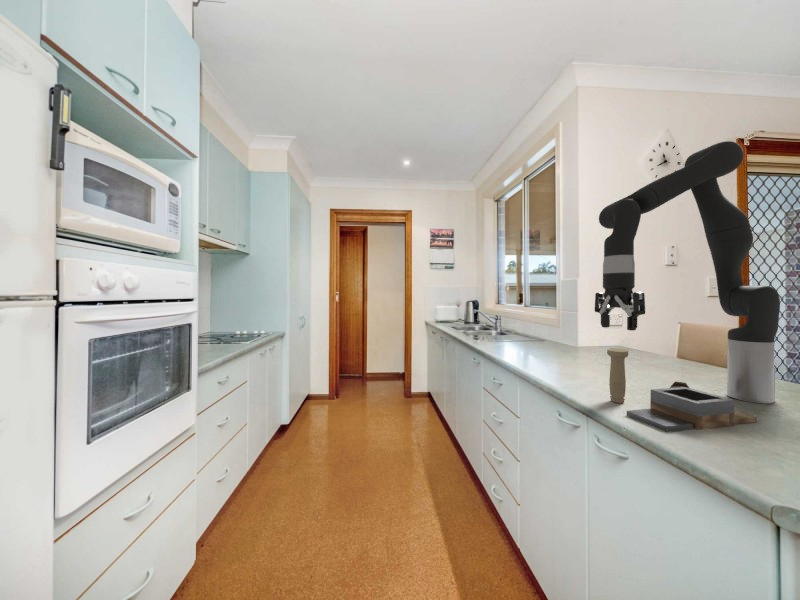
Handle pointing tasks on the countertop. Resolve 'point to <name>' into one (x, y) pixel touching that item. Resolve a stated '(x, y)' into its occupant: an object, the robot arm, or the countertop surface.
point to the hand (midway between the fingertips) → (617, 328)
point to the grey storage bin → (681, 407)
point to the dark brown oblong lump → (679, 385)
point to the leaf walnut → (707, 417)
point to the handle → (617, 374)
